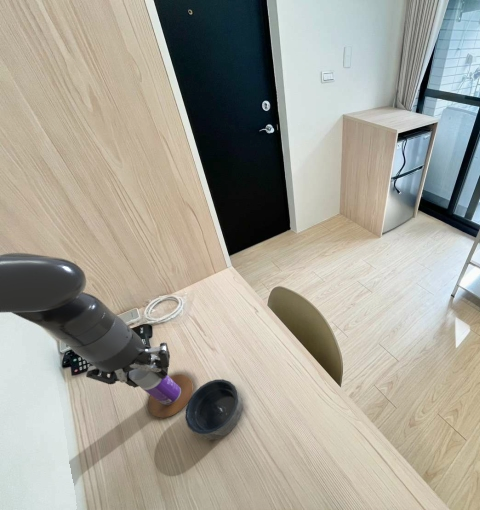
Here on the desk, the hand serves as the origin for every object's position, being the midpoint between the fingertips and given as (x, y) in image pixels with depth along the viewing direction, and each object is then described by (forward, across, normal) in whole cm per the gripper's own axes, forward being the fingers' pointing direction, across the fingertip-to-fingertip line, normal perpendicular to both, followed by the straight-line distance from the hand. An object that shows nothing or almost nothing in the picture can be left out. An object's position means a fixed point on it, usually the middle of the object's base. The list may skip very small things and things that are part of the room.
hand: (151, 378), depth 60 cm
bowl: (+11, +11, -8) cm, 17 cm away
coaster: (+11, 0, 0) cm, 11 cm away
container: (+11, 0, 0) cm, 11 cm away
